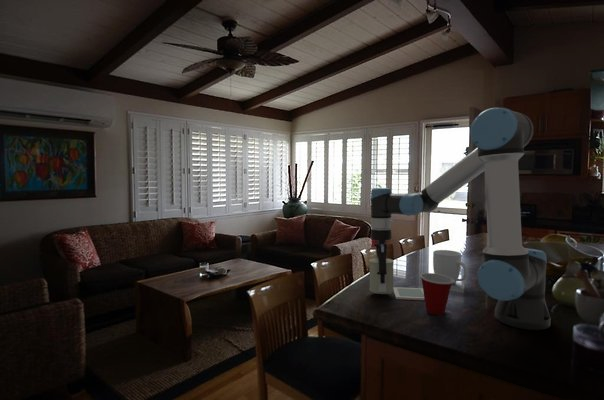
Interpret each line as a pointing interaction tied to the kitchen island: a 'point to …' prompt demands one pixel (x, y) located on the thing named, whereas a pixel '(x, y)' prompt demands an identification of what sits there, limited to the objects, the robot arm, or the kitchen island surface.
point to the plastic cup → (436, 292)
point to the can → (375, 278)
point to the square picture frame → (409, 293)
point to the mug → (448, 264)
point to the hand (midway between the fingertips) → (381, 287)
